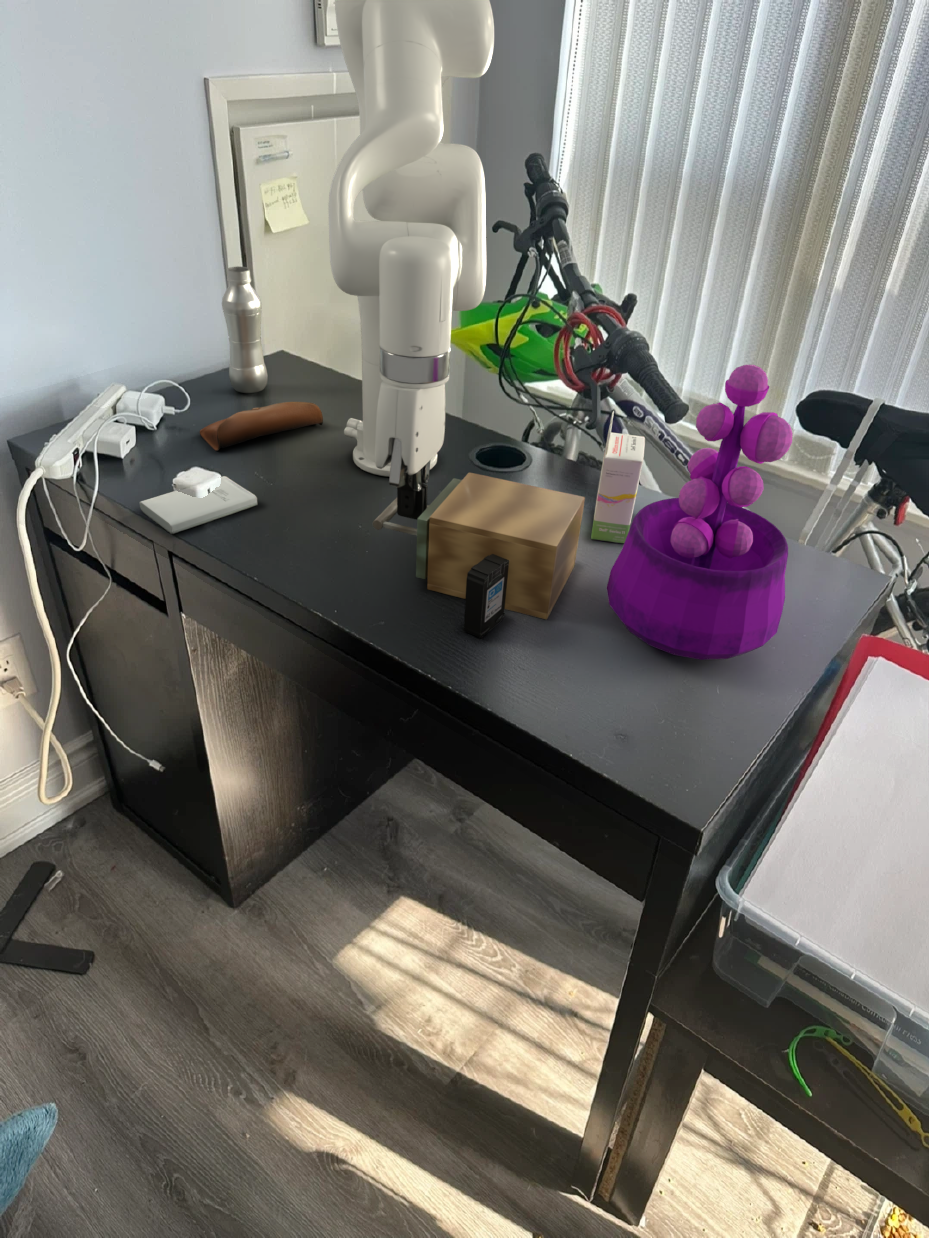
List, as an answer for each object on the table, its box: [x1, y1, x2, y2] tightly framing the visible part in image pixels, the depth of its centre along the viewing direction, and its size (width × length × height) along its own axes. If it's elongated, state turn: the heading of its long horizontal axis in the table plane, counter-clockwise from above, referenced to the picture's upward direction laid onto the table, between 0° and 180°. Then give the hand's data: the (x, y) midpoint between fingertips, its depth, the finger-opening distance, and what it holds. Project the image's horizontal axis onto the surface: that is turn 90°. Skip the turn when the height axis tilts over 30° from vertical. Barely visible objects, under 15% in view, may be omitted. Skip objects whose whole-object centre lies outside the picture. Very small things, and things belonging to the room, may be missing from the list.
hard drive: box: [139, 475, 258, 535], centre depth 110 cm, size 2×8×12 cm
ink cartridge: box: [463, 554, 509, 639], centre depth 90 cm, size 5×2×8 cm, turn 146°
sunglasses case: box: [199, 401, 324, 452], centre depth 131 cm, size 18×7×7 cm
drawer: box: [372, 478, 463, 580], centre depth 100 cm, size 20×11×8 cm, turn 70°
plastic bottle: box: [221, 265, 269, 394], centre depth 140 cm, size 6×7×20 cm
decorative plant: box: [606, 364, 794, 661], centre depth 86 cm, size 19×18×30 cm
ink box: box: [590, 410, 646, 544], centre depth 108 cm, size 9×5×15 cm, turn 168°
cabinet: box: [426, 472, 586, 620], centre depth 98 cm, size 15×13×10 cm
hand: (411, 514), depth 101 cm, fingers closed
